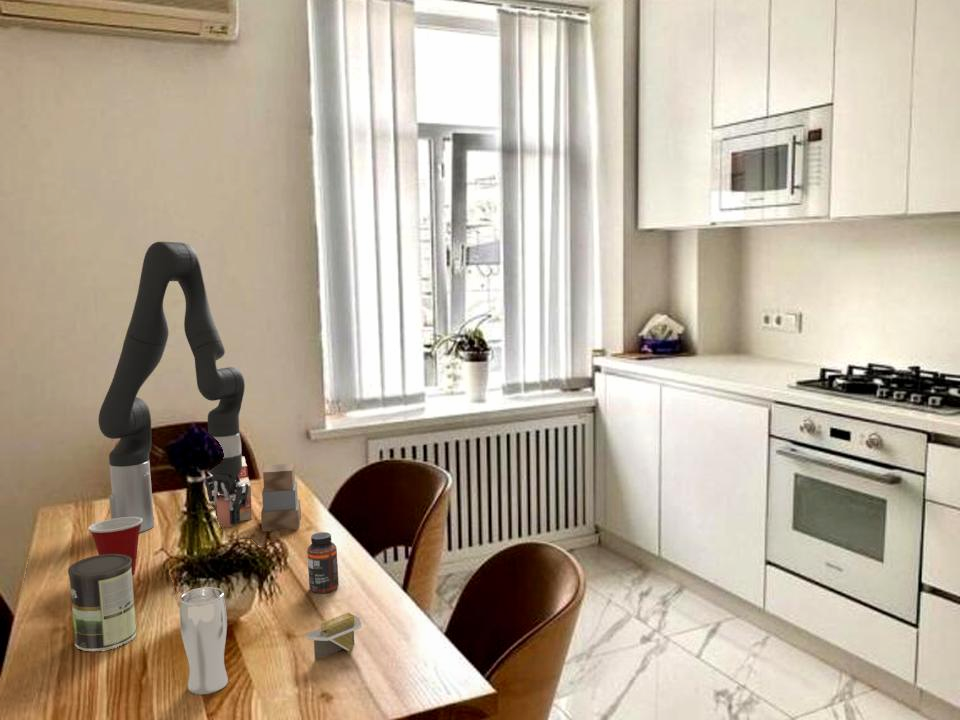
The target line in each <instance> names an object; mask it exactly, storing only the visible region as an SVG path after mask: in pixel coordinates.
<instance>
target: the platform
mask: <svg viewBox="0 0 960 720" xmlns="http://www.w3.org/2000/svg"><path fill="white" fill-rule="evenodd" d="M337 618H341V619H339V620H337ZM360 628H362V622H361V620H360V617H358V616H357V615H355V614H354V613H351V612H349V611H348V612H345V613H343V614H340V615H338V616H335V617H332V618H330V619H329V618H328V620H327V619H326V620H325V621H322V622H320V627H319V628H318V629H315V630H311V631H310V632H307V633H306V637H305V638H306V639H308V640H310V641H313V648H314V649H313V650H314V661H317V660H319V659H318V658H320V659H322V658H324V657H323V656H325V657H327V656H329V655H332V654H334V653H337V652H338V651H341V649H342V650H345V651H347V652H350V651H354V649H353V644H354V645H355V631H356V630H359V629H360ZM336 651H337V652H336ZM333 652H334V653H333ZM331 653H332V654H331ZM326 655H327V656H326ZM321 657H322V658H321ZM316 659H317V660H316Z"/></svg>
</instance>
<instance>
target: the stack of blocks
mask: <svg viewBox="0 0 960 720" xmlns="http://www.w3.org/2000/svg"><path fill="white" fill-rule="evenodd" d="M246 462H247V461H246V458H245V456H243V455H242V470H241V471H240V473H239V479H240V483H242V484H248V494H247V502H246V506H245V507H242V508H240V522H242V521H249V520H252V517H253V516H252V515H253V514H252V498H251V497H252V487H251V483H250V479H249V474H248V465H247V463H246ZM230 496H235V494H233V495H230ZM240 502H242V500H240Z"/></svg>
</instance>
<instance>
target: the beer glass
mask: <svg viewBox="0 0 960 720" xmlns="http://www.w3.org/2000/svg"><path fill="white" fill-rule="evenodd" d="M227 617H228V615H227V608H226V601H225V594H224V590H223V589H222V588H220V587H216V586H215V587H214V586H204V587H198V588H194V589H191V590H188V591H186V592H184V593H183V594H182V595H180V597H179V623H180V625H179V626H180V635H181V639H182V643H183V646H184V649H185V654H186V657H187V661H188V667H189V669H188V670H189V676H188V684H187V689H188V691H189V692H190V693H192V694H194V695H200V696H201V695H209V694H214V693H217V692H219V691H221V690H222V689H224V688H225V687H226V686H227V684H228V683H229V679H228V674H227V670H226V667H225V649H226V639H227V630H228V620H227V619H228V618H227Z"/></svg>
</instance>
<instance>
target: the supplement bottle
mask: <svg viewBox="0 0 960 720" xmlns="http://www.w3.org/2000/svg"><path fill="white" fill-rule="evenodd" d="M310 539H311V540H310V542H311V544H310V545H309V546H308V547H307V549H306V550H307V551H306V553H307V569H308V570H307V571H308V585H309V590H310V591H311V592H313V593H315V594H316V593H317V594H325V593H326V594H327V593H330V592H333V591H335V590H336V589H337V588H338V587H339V567H338V553H337V549H338V548H337V545H336V544H335V543H334V542H333V541H332V534H331V533H330V532H326V531H325V532H324V531H323V532H321V531H320V532H316V533H313V534H312V535H311V537H310Z"/></svg>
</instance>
